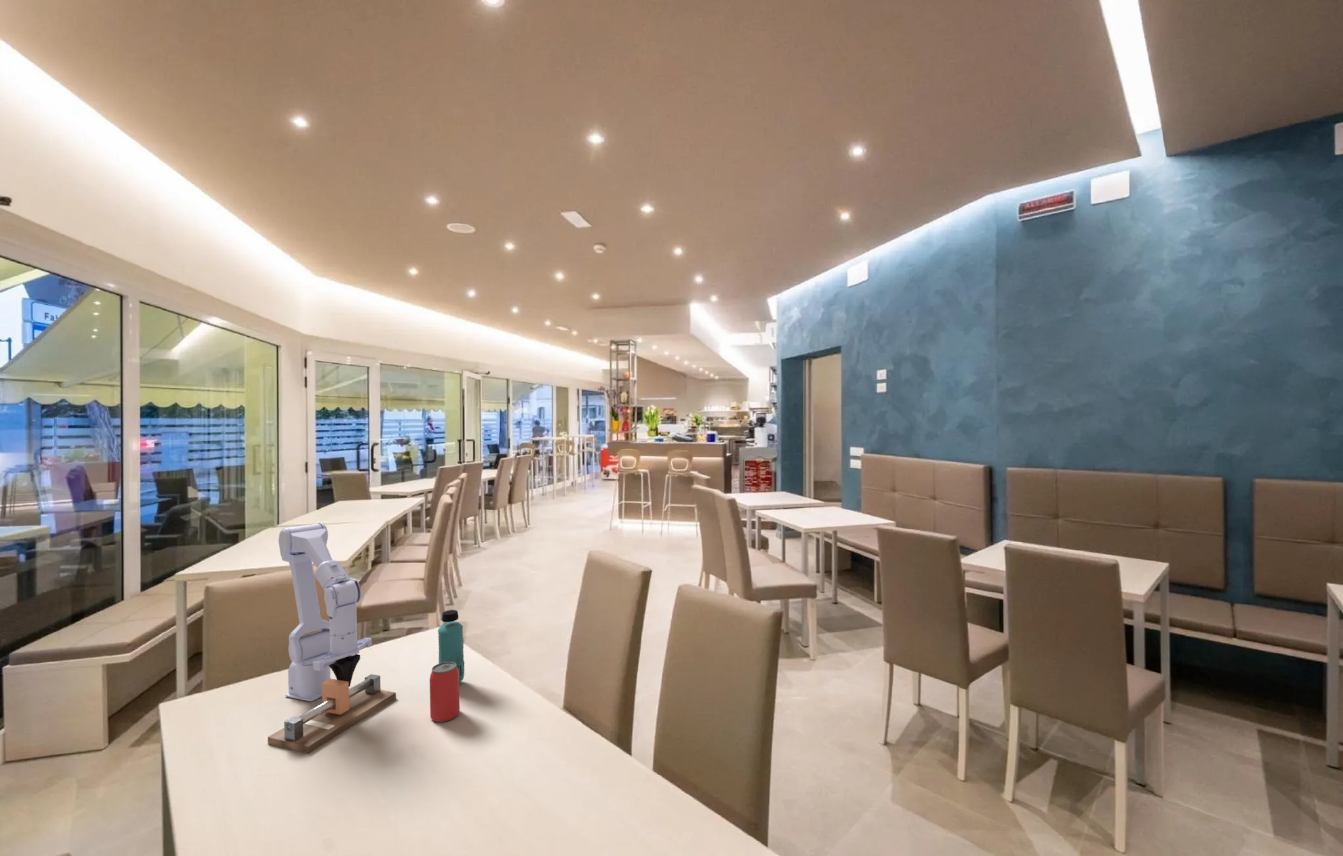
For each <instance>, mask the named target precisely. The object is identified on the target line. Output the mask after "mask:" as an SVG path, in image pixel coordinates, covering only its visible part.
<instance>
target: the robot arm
mask: <svg viewBox="0 0 1343 856" xmlns="http://www.w3.org/2000/svg"><path fill="white" fill-rule="evenodd" d="M328 538H329V533H328V527H327V526H326V525H325V524H324V522H318V523H312V524H306V525H299V526H291V527H283V528H282V529H281V530H280V532H279V535H278V546H279V553H280V557H281V561H283V562H287V563H288V564H289V567H290V573H291V579H292V585H293V591H294V597H295V604H296V611H297V615H298V622H299V624H298V625H297V626H296V627H295V628H294V629H293V630H292V631H291V632H290V633H289V635H288V655H289V656H288V657H289V659H290V661H291V663H290V665H289V666H288V667H289V668H288V670H287V672H288V673H287V678H288V681H287V682H288V683H287V684H288V692H287V693H285V695H284V696H285V697H288V698H292V699H295V700H296V699H298V700H302V701H307V702H314V701H316V700H318V699H320V698H322V683H323V682H325V681H327V680H329V679H332V677H331V670H332V672H333V674H334V676H335V678H336V680H342V681H347V682H349V688H351V683H352V679H353V675H354V672H355V670H356V668H357V665H358V664H359V661H360V660H361V655H360V654H359V653H360V651H361V650H364V649H365V648H370V647H372V646H373V643H372V641H373V640H372V638H370V637H364V638H360V639H359V640H358V621H357V620H358V618H357V617H358V616H357V615H358V614H357V611H358V610H357V603H359V602H360V601H361V597H362V591H361V586H360V583H359V581H358V580H357V579H356V578H353V576H351V577H350V576H348V574H347V573H346V571H345V568H344V567H343V566H342V564H341V562H340V561H338V560H333V558H332V556H331V553H330V551H329V548H328V547H327V544H328ZM313 565H314V566H315V567H316V570H315V571H314V567H313ZM314 572H315V573H314ZM315 577H316V579H317V581H318V583H319V584H320V586H321V588H322V589H323V591H324V593H323V594H324V595H323V599H324V604H325V608H326V615H327V616H328V619H329V620H325V619H323V618H322V616H321V610H320V609H321V608H320V603H319V598H318V591H317V590H318V589H317V585H316V579H315ZM313 632H314V633H313ZM304 635H305V636H304Z"/></svg>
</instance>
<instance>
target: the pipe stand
mask: <svg viewBox="0 0 1343 856" xmlns="http://www.w3.org/2000/svg"><path fill="white" fill-rule="evenodd" d="M363 690H365V693H368V694H373V695H375V694H376V693H378V692H380V691H381V690H382V688H381V675H378V674H373V673H370V674H369V675H366V676H365V677H364V680H363V681H361V682H359V683H357V684H355V685H354V686H352V687H349V698H351V697H352V696H354V695H356V694H358V693H359V692H361V691H363ZM335 706H336V699H335V698H332V699H330V700H328V701H326V702H324V703H323V704H322V703H321V704H319V705H317V706H315V707H313V708H311V709H310V710H308V711H306V712H304V713H302V714H301V715H299V716H297V717H296V716H292V717H290V718H288V719H286V720H284V723H283V724H284V725H283V728H284V733H285V739H286V740H290V741H294V742H295V741H297V740H298V739H300V738H302V737H303V724H305V723H306V722H308V721H310V720H312V719H314V718H315V717H317V716H319V715H321V714H322V713H324V712H326V711H328V710H329V709H331V708H333V707H335Z"/></svg>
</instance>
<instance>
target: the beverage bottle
mask: <svg viewBox="0 0 1343 856" xmlns="http://www.w3.org/2000/svg"><path fill="white" fill-rule="evenodd" d="M458 620H459V611H458V610H456V609H449V610H445V611H443V612H442V615H441V621H442V622H443V624H441V626H440V627H439V628H438V629H437V632H438V633H437V634H438V635H437V639H438V662H437V664H439V663H443V662H454V663H456V664H457V669H458V671H459V683H460V682H462V681H463V680H464V677H465V676H466V675H465V669H466V668H465V659H464V658H465V656H464V644H465V643H464V642H465V641H464V634H463V633H464V631H463V630H464V625H463V624H461V622H459V621H458Z"/></svg>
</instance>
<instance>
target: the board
mask: <svg viewBox="0 0 1343 856" xmlns="http://www.w3.org/2000/svg"><path fill="white" fill-rule="evenodd" d="M396 699H397V693H396V692H394V691H389V690H384V689H381V691H380V692H378V693H376V694H375V695H373V694H368V693H365V690H363V691H361V692H359V693H358V694H356V695H354V696H352V697H351V698H349V710H347V711H346V712H344V713H342V714H341V715H340V714H335V713H330V712H324V713H322V714H321V715H319V716H317V717H315V718H314V719H312V720H310V721H308V722H306V723H305V724H303V737H302V738H300V739H298V740H297V741H295V742H294V741H290V740H286V739H285V733H284V727H283V728H281V729H279V730H278V731H275V732H274V733H272V734H270V735H269V736H267V744H268V745H272V746H277V747H280V748H284V749H288V750H293V751H297V752H300V753H305V754H310V753H311V752H313V751H314V750H316V749H317V748H320V747H321V746H322V745H324V744H325V743H328V742H329V741H330V740H332V739H334V738H335V737H337V736H339V735H340V734H341V733H343V732H345V731H346V730H348V729H350V728H351V727H353V726H354V725H356V724H357V723H359V722H360V721H361V722H362V720H364V719H365V718H367V717H368V716H370V715H372V714H374V713H375V712H376V711H378V710H380V709H381V708H383V707H384V706H386V705H387V704H390V703H391V702H393V701H394V700H396Z"/></svg>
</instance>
